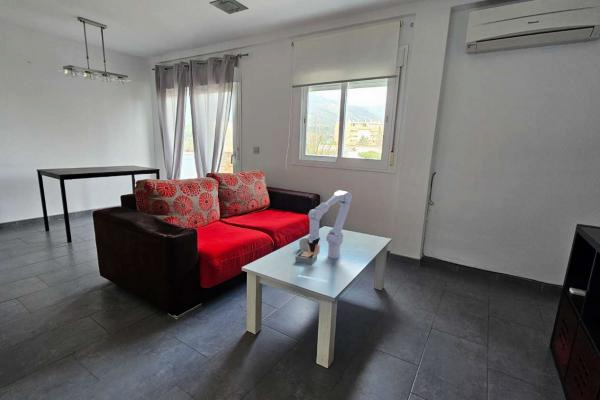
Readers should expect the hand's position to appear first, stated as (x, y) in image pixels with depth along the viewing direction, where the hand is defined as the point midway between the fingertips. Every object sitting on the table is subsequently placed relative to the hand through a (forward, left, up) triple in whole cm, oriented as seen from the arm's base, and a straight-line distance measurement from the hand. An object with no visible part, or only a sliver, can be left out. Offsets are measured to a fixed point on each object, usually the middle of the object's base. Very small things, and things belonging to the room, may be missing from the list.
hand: (313, 250), depth 172 cm
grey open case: (-20, -11, -9) cm, 24 cm away
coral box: (0, 0, -2) cm, 2 cm away
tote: (-1, -5, -8) cm, 10 cm away
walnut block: (-1, -5, -8) cm, 9 cm away
